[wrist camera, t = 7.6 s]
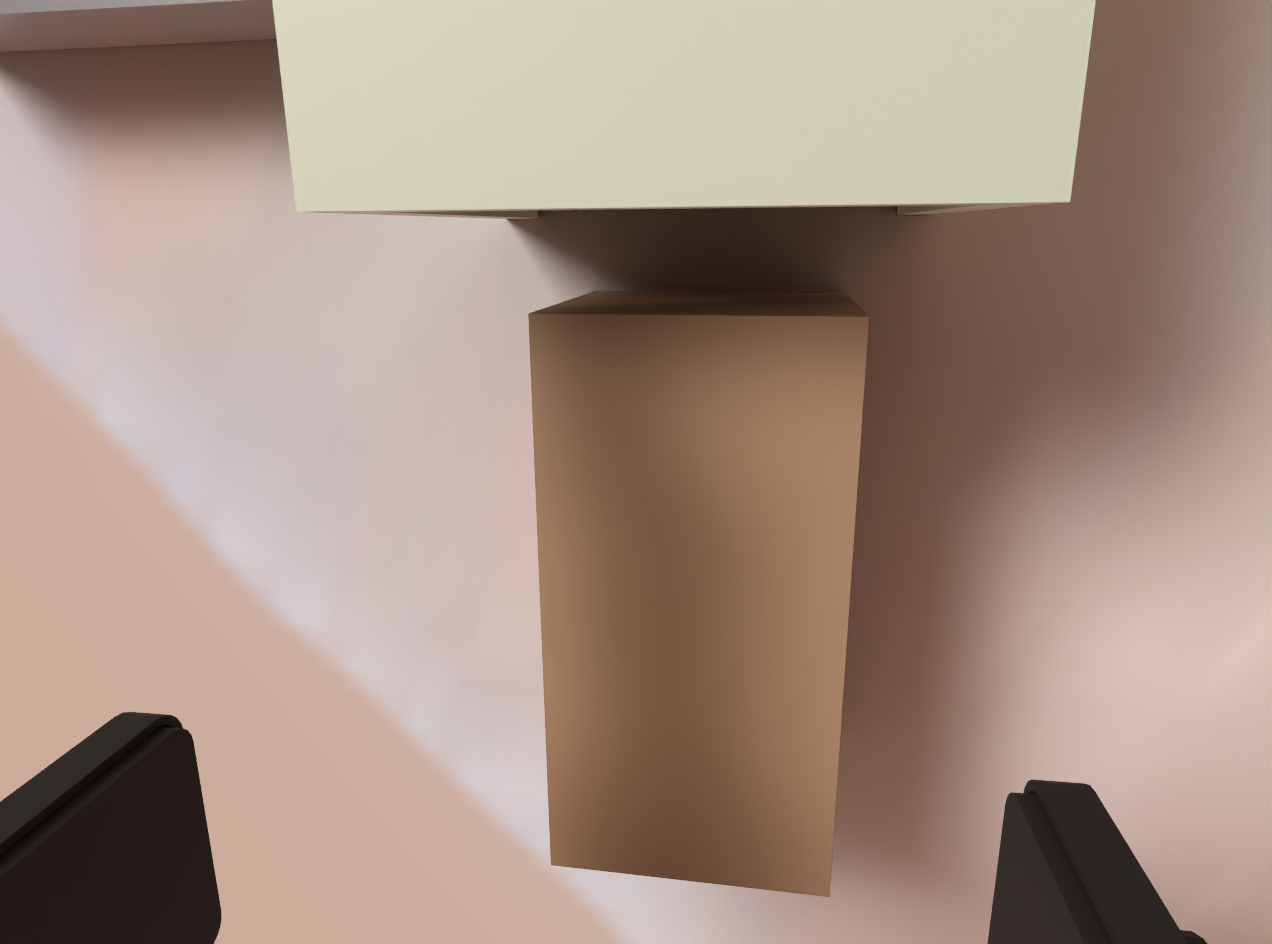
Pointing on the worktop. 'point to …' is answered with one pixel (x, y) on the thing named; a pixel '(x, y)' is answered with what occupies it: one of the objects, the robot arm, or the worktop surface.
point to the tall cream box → (680, 104)
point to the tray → (130, 23)
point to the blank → (696, 577)
